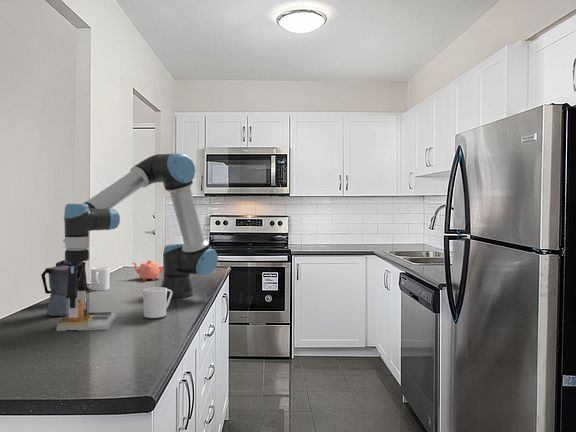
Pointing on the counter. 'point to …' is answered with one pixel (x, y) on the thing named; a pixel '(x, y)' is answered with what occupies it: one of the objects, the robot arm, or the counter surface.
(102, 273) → the mug
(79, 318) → the cap
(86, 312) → the breaker slider
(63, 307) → the moka pot
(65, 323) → the panel
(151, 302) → the mug
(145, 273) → the teapot
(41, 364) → the counter surface
